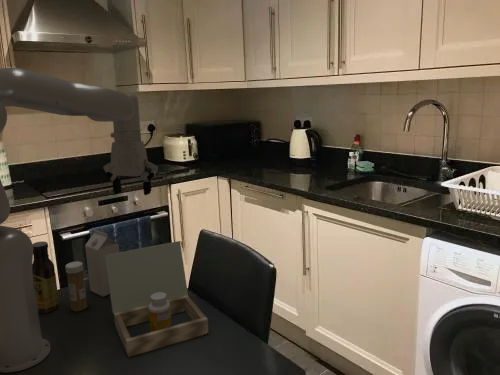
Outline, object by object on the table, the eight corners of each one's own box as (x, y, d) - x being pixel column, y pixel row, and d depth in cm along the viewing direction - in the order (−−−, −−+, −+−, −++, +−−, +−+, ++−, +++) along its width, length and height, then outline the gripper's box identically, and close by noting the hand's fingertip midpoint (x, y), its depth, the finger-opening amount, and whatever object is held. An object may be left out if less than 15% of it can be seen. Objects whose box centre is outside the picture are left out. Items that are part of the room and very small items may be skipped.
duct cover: (104, 255, 114) (104, 255, 114) (113, 313, 113) (112, 312, 114) (180, 241, 123) (179, 241, 123) (187, 294, 123) (187, 294, 123)
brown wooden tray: (128, 357, 101) (126, 341, 101) (115, 327, 114) (114, 313, 114) (208, 333, 110) (207, 319, 110) (188, 308, 123) (187, 295, 122)
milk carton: (110, 282, 141) (104, 226, 137) (123, 288, 137) (117, 230, 132) (90, 290, 136) (83, 232, 131) (103, 297, 131) (96, 237, 127)
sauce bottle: (32, 309, 125) (22, 243, 120) (53, 301, 129) (45, 237, 125) (41, 317, 121) (31, 249, 116) (63, 308, 125) (55, 242, 121)
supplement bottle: (148, 327, 114) (145, 293, 112) (169, 323, 116) (166, 289, 114) (152, 338, 109) (149, 302, 107) (174, 333, 111) (171, 297, 109)
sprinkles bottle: (89, 308, 125) (84, 264, 122) (73, 313, 122) (67, 268, 119) (85, 302, 128) (80, 259, 125) (69, 307, 126) (63, 263, 123)
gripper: (94, 138, 127) (100, 195, 131) (149, 138, 123) (153, 197, 127) (107, 135, 134) (113, 190, 138) (160, 135, 130) (164, 191, 134)
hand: (132, 193), depth 132 cm, fingers open, 9 cm apart
